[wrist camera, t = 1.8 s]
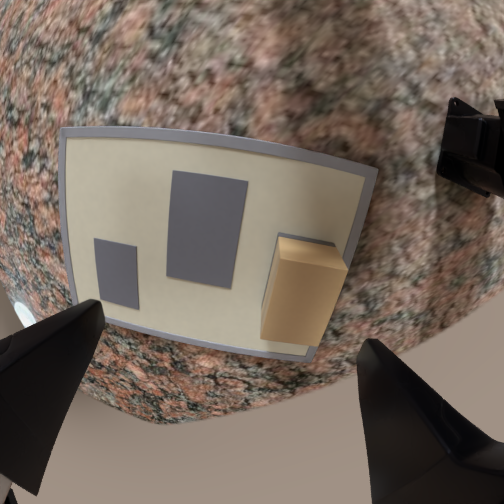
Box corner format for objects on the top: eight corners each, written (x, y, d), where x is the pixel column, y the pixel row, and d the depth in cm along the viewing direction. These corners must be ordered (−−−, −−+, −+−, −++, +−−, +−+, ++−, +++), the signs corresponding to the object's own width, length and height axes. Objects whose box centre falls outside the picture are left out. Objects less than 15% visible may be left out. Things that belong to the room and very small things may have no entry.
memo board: (374, 167, 17) (379, 169, 16) (310, 356, 24) (310, 363, 23) (66, 127, 16) (59, 127, 16) (78, 307, 24) (74, 312, 23)
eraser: (334, 242, 19) (348, 269, 15) (311, 312, 21) (318, 347, 18) (278, 231, 19) (280, 257, 15) (261, 304, 21) (259, 339, 17)
